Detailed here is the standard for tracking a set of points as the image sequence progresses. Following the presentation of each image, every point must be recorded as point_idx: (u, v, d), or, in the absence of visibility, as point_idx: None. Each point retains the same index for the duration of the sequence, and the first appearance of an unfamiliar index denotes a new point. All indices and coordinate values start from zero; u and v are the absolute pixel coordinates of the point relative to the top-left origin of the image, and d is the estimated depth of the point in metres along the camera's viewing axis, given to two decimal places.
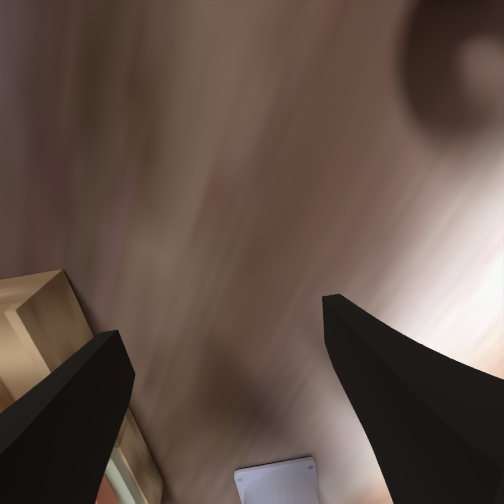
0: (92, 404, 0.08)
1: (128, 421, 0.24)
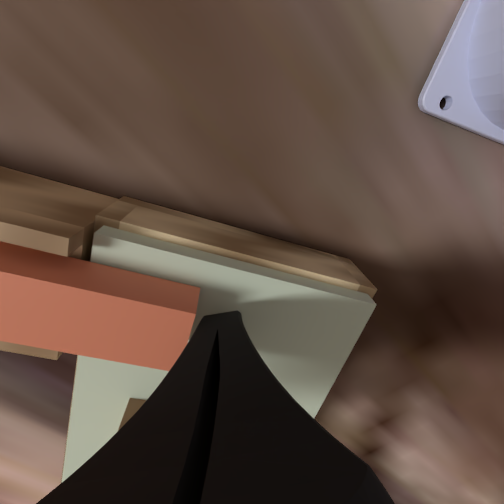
0: None
1: (138, 206, 0.12)
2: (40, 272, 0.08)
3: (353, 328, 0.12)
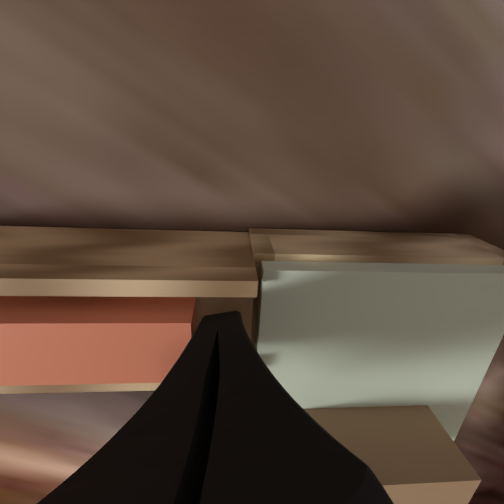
0: None
1: (268, 234, 0.13)
2: (40, 316, 0.09)
3: None
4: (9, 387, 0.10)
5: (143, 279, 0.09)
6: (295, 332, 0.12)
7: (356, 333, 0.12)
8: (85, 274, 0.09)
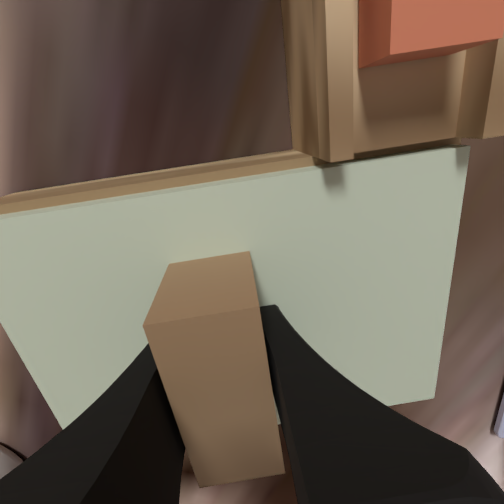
0: None
1: None
2: None
3: (406, 396, 0.13)
4: None
5: None
6: (379, 207, 0.09)
7: (375, 277, 0.10)
8: None
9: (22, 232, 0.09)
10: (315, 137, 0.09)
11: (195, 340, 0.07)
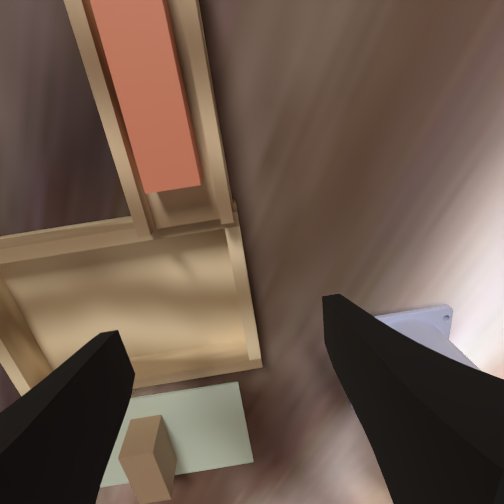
0: (92, 404, 0.08)
1: None
2: (176, 63, 0.11)
3: (240, 461, 0.28)
4: (77, 19, 0.11)
5: (220, 143, 0.13)
6: (208, 400, 0.25)
7: (213, 420, 0.26)
8: (212, 96, 0.12)
9: None
10: None
11: (134, 461, 0.22)
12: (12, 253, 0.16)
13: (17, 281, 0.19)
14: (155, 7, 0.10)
